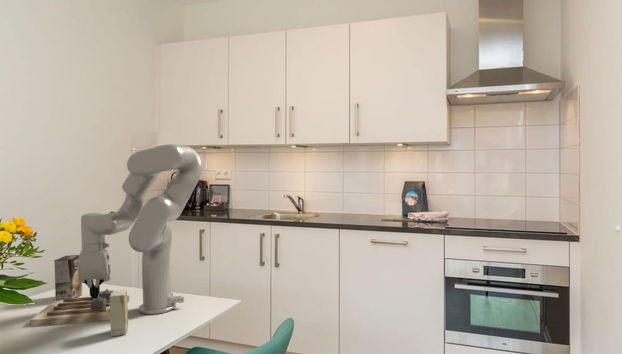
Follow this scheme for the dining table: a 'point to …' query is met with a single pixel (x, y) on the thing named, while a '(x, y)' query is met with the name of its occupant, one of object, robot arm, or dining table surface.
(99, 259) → the robot arm
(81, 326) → the dining table surface
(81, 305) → the wooden slatted tray
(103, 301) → the switch tab near
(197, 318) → the dining table surface
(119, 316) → the skincare box
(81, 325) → the dining table surface
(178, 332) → the dining table surface
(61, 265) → the coffee box
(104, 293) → the switch tab far
